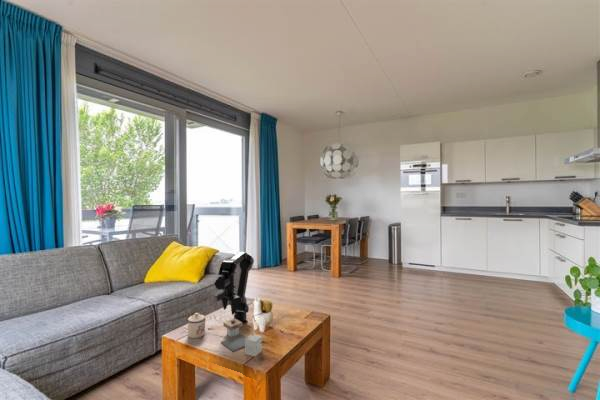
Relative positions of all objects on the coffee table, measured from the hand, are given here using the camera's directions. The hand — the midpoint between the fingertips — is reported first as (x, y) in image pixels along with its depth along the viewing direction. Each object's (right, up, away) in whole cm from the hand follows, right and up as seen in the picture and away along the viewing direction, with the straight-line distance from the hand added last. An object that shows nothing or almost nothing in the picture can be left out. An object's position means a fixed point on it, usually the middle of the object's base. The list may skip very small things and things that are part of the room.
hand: (228, 311), depth 160 cm
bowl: (+2, -12, +1) cm, 12 cm away
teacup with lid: (-17, -12, 0) cm, 21 cm away
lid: (+2, -8, 0) cm, 8 cm away
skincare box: (+17, -13, -19) cm, 28 cm away
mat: (+7, -12, -10) cm, 17 cm away
